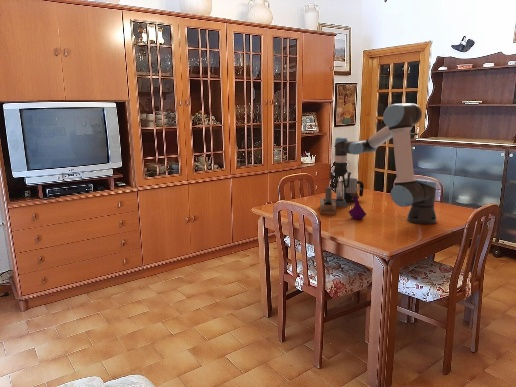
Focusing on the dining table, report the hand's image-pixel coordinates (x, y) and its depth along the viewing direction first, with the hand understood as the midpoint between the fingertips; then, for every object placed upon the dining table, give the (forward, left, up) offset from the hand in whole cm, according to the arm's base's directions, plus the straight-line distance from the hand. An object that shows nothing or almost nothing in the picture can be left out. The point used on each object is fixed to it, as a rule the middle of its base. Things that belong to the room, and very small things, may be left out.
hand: (339, 197), depth 259 cm
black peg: (-19, +8, -3) cm, 21 cm away
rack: (-15, +8, -5) cm, 17 cm away
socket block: (0, 0, -5) cm, 5 cm away
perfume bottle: (-31, -8, -5) cm, 32 cm away
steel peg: (0, 0, -3) cm, 3 cm away
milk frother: (+16, -8, -5) cm, 18 cm away
